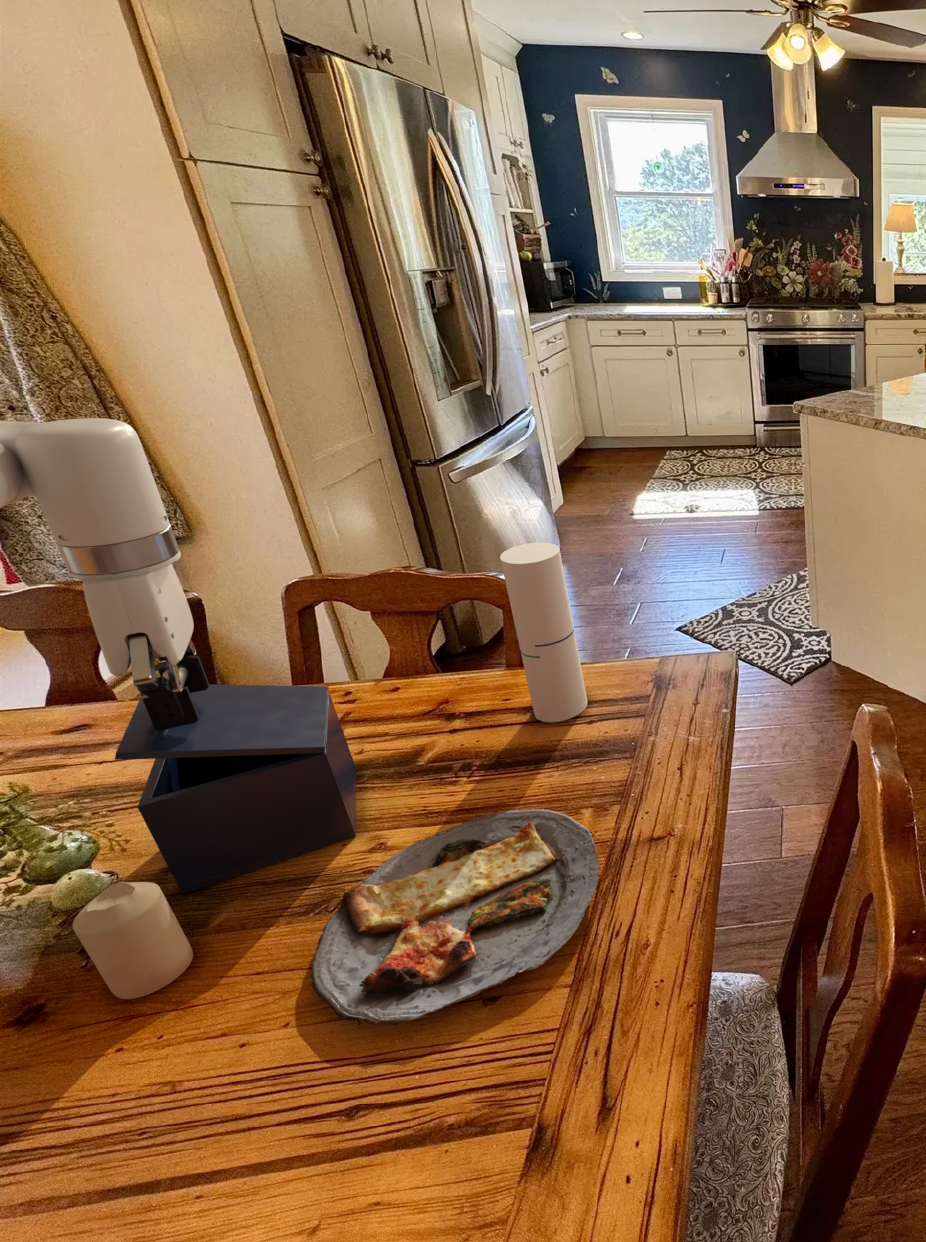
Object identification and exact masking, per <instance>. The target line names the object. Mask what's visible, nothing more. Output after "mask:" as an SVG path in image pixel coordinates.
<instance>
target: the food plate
mask: <svg viewBox="0 0 926 1242" xmlns="http://www.w3.org/2000/svg"><path fill="white" fill-rule="evenodd" d="M599 863H600V860H599V855H598V852H597V848H596V845H595V842H594V838H593V836H592V833H591V831H590V829H589V828H588V827H586V825H585V826H584V825H582V823H580V822H577V821H576V819H574V818H573V817H572V816H568V815H566V814H564V813H562V812H559V811H556V810H554V811H553V810H551V809H542V808H537V809H536V808H530V809H522V810H502V811H496V812H493V813H488V814H485V815H483V816H480V817H476V818H474V819H473V818H472V819H471V820H468V821H464V822H462V823H460V824H457V825H454V826H452V827H449V828H447V829H444V830H442V831H439V832H436V833H434V834H432V835H430V836H427V837H425V838H423V839H420V840H417V841H415V842H414V843H412V844H410V845H408V846H406V847H405V848H403V849H402V850H399V851H398V852H396V853H395V854H393V855H392V856H391V857H390V858H388V859H387V860H385V861H384V863H383V862H382V863H381V864H380V865H379V866H377V868H376V869H375V870H374V871H372V872H371V873H370V875H368V876H367V877H365V878H364V879H363V880H362V881H361V882H359V884H356V885H353V886H351V887H350V889H348V890H344V891H343V894H342V901H341V904H340V906H339V907H338V909H337V910H336V911H335V913H334V914H333V915H332V916H330V918H329V920H328V921H327V922H326V924H325V925H324V927H323V929H322V934H321V935H320V937H319V938H318V941H317V946H316V950H315V952H314V955H313V958H312V961H311V974H310V978H311V986H312V989H313V990H314V991H315V994H317V996H318V997H319V998H320V999H322V1000H323V1001H324V1002H325V1003H326V1004H327V1005H328V1006H329V1007H330V1008H331V1009H332V1010H333V1011H334V1013H335V1015H336V1017H339V1018H341V1019H343V1018H344V1019H345V1020H347V1021H351V1022H355V1021H356V1022H357V1023H358V1024H357V1025H358V1026H361V1024H363V1023H362V1022H360V1019H362V1020H363V1021H364V1022H367V1023H368V1024H369V1025H376V1024H377V1023H380V1022H382V1021H385V1022H388V1023H387V1024H389V1025H393V1026H395V1025H399V1024H403V1023H409V1022H411V1021H413V1020H417V1019H421V1018H426V1017H427V1015H426V1014H431V1013H435V1012H437V1011H438V1010H442V1009H443V1008H445V1007H449V1006H452V1005H454V1004H456V1003H460V1002H461V1001H464V1000H467V999H469V998H473V997H474V996H477V995H479V994H480V993H481V992H482V991H484V990H486V989H490V988H492V987H495V986H497V985H501V984H503V983H504V982H506V981H507V980H508V979H510V978H512V977H514V976H515V975H517V974H518V973H523V972H526V971H532V970H535V969H538V968H539V967H540V966H542V965H543V964H545V962H546V961H548V960H549V959H551V958H552V957H553V955H555V953H558V951H559V950H560V949H561V948H562V947H563V946H564V945H565V944H566V943H567V942H568V941H569V940H570V939H571V938H572V937H573V935H574V934H575V932H576V931H577V930H578V929H579V927H580V923H581V922H583V921H582V920H583V919H584V917H585V912H586V909H587V907H588V906H589V904H590V902H591V900H592V898H593V896H594V894H595V891H596V888H597V886H598V879H599V872H600V868H601V867H600V865H599Z"/></svg>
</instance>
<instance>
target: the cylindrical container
mask: <svg viewBox="0 0 926 1242" xmlns="http://www.w3.org/2000/svg"><path fill="white" fill-rule="evenodd" d="M560 549H561V548H560V546H559V545H557V544H555V543H551V542H543V541H542V542H541V541H540V542H530V543H529V542H528V543H522V544H519V545H516V546H513V547H511V548H507V549H506V550H504V551H503V552H502V553H501V554H500V555H499V558H500V563H501V568H502V572H503V577H504V581H505V586H506V591H507V596H508V599H509V605H510V609H511V614H512V618H513V624H514V627H515V632H516V637H517V641H518V646H519V650H520V656H521V660H522V664H523V669H524V673H525V678H526V682H527V686H528V691H529V696H530V697H529V698H530V700H531V701H530V702H531V705H532V709H533V716H534V717H535V718H536V719H537V720H539V721H540V722H544V723H559V722H565V721H567V720H570V719H572V718H574V717H577V716H578V715H580V714H581V713H582V712H584V711H585V709H586V708H587V706H588V698H587V692H586V687H585V681H584V680H585V679H584V676H583V671H582V670H583V669H582V665H581V659H580V653H579V648H578V642H577V637H576V632H575V627H574V620H573V615H572V609H571V604H570V599H569V592H568V587H567V582H566V576H565V571H564V566H563V559H562V554H561V550H560Z"/></svg>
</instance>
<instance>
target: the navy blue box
mask: <svg viewBox="0 0 926 1242" xmlns="http://www.w3.org/2000/svg"><path fill="white" fill-rule="evenodd" d="M144 785H145V786H144V788H143V791H142V794H141V795H140V798H139V802H138V804H137V809H138V811H139V813H140V815H141V817H142V819H143V822H144V823H145V825H146V827H147V829H148V830H149V832H150V835H151V836H152V839H153V841H154V842H155V844H156V847H157V849H158V850H159V852H160V854H161V856H162V859H163V860H164V862H165V864H166V866H167V867H168V870H169V872H170V874H171V876H172V877H173V879H174V881H175V883H176V885H177V887H178V889H179V891H180V893H181V895H186V894H189V893H192V892H194V891H197V890H200V889H204V888H206V887H209V886H212V885H216V884H219V883H221V882H224V881H227V880H230V879H234V878H236V877H239V876H242V875H245V874H248V873H252V872H254V871H256V870H259V869H263V868H266V867H268V866H272V865H275V864H277V863H281V862H284V861H286V860H289V859H293V858H296V857H298V856H301V855H305V854H307V853H310V852H313V851H316V850H319V849H322V848H325V847H328V846H331V845H333V844H336V843H339V842H343V841H346V840H348V839H349V840H350V839H351V838H354V837H356V836H357V767H356V765H355V761H354V758H353V756H352V753H351V750H350V747H349V744H348V741H347V739H346V736H345V733H344V730H343V727H342V724H341V722H340V719H339V716H338V713H337V710H336V707H335V704H334V702H333V698H332V695H331V693H330V692H329V691H328V706H327V723H326V740H325V750H324V753H313V754H281V755H250V756H218V757H187V758H155V759H154V761H153V764H152V767H151V769H150V772H149V774H148V777H147V779H146V782H145V784H144Z"/></svg>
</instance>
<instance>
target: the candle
mask: <svg viewBox="0 0 926 1242" xmlns="http://www.w3.org/2000/svg"><path fill="white" fill-rule="evenodd" d="M72 930H73V932H74V933H75V935H76V936H77V938H78V940H79V941H80V943H81V945H82V946H83V948H84V950H85V952H86V953H87V955H88V956H89V957H90V959H91V961H92V962H93V964H94V966H95V968H96V970H97V971H98V972H99V974H100V976H101V977H102V979H103V981H104V982H105V984H106V986H107V987H108V989H109V990H110V992H111V993H112V995H113V996H115V997H116V998H118V999H121V1000H132V999H138V998H142V997H145V996H148V995H151V994H153V993H155V992H157V991H159V990H161V989H162V988H165V987H166V986H168V985H169V984H171V983H173V982H174V981H175V980H176V979H177V978H179V977H180V976H182V974H183V973H184V972H185V971H186V970H187V969H188V967H189V966H190V965H191V963H192V961H193V958H194V951H193V948H192V946H191V944H190V942H189V940H188V938H187V936H186V935H185V933H184V929H183V928H182V927H181V924H180V923H179V921H178V918H177V917H176V915H175V913H174V911H173V910H172V908H171V906H170V904H169V902H168V901H167V898H166V896H165V894H164V893H163V890H162V889H161V886H160V885H158V884H157V883H155V882H150V881H131V882H130V881H129V882H128V881H118V882H115V883H114V884H112V885H110V886H108V887H107V888H105V889H104V890H103V891H102V892H101V893H100V894H98V895H97V896H96V897H95V898H93V899H92V900H90V901H89V902H88V903H86V905H85V906H84V907H82V909H81V910H80V911H79V913H78V914H77V915H76V916H75V918H74V919H73V922H72Z"/></svg>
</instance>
